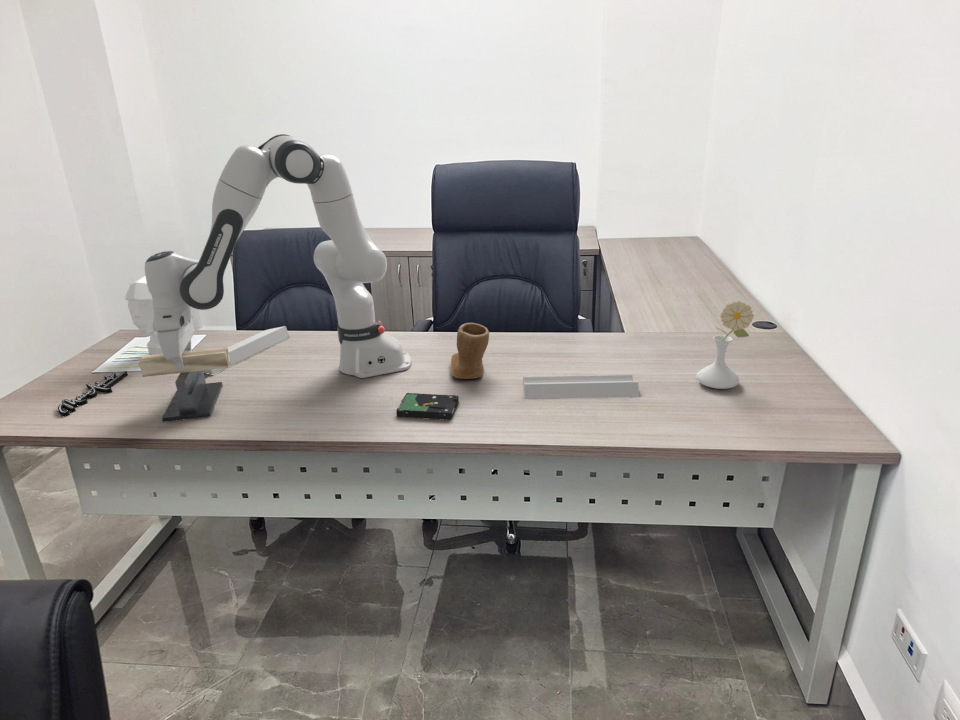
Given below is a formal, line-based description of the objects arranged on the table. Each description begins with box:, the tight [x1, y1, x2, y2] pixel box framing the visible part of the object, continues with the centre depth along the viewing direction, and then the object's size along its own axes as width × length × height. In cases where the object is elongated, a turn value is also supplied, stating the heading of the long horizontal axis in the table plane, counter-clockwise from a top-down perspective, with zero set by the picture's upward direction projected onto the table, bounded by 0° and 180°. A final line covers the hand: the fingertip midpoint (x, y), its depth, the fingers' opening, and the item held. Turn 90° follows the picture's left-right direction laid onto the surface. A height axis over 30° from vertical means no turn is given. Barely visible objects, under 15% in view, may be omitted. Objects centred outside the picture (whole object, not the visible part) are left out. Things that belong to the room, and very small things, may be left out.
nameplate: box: [57, 370, 129, 418], centre depth 184 cm, size 27×2×10 cm
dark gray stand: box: [161, 371, 224, 423], centre depth 175 cm, size 12×20×10 cm, turn 12°
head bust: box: [124, 275, 184, 355], centre depth 205 cm, size 16×19×28 cm
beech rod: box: [138, 347, 231, 378], centre depth 172 cm, size 4×22×4 cm, turn 102°
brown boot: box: [450, 322, 490, 380], centre depth 188 cm, size 15×12×15 cm
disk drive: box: [396, 392, 460, 421], centre depth 169 cm, size 10×3×15 cm
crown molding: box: [522, 374, 641, 400], centre depth 177 cm, size 31×12×4 cm, turn 89°
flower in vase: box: [695, 300, 755, 390], centre depth 172 cm, size 13×11×25 cm
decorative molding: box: [203, 325, 291, 375], centre depth 210 cm, size 34×5×10 cm
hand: (184, 361), depth 172 cm, fingers open, 8 cm apart
